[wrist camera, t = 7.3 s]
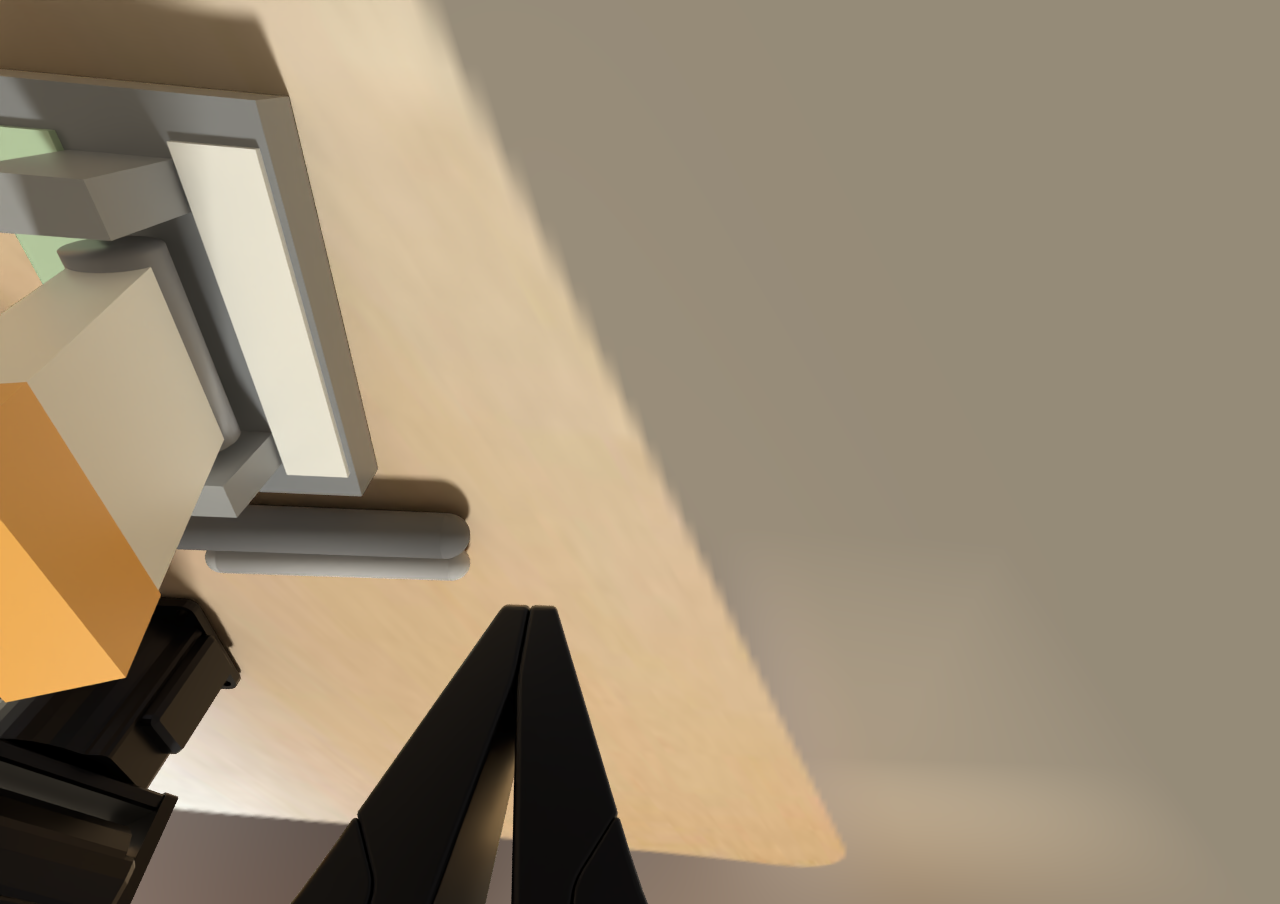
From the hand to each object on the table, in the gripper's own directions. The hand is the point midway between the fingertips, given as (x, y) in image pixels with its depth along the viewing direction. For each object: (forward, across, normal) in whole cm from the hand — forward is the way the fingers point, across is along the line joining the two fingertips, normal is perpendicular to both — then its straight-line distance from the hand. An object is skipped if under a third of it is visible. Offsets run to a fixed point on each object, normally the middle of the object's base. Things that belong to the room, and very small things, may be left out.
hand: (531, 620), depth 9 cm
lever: (+9, +11, 0) cm, 15 cm away
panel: (+11, +11, 0) cm, 16 cm away
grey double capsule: (+11, +10, +9) cm, 18 cm away
